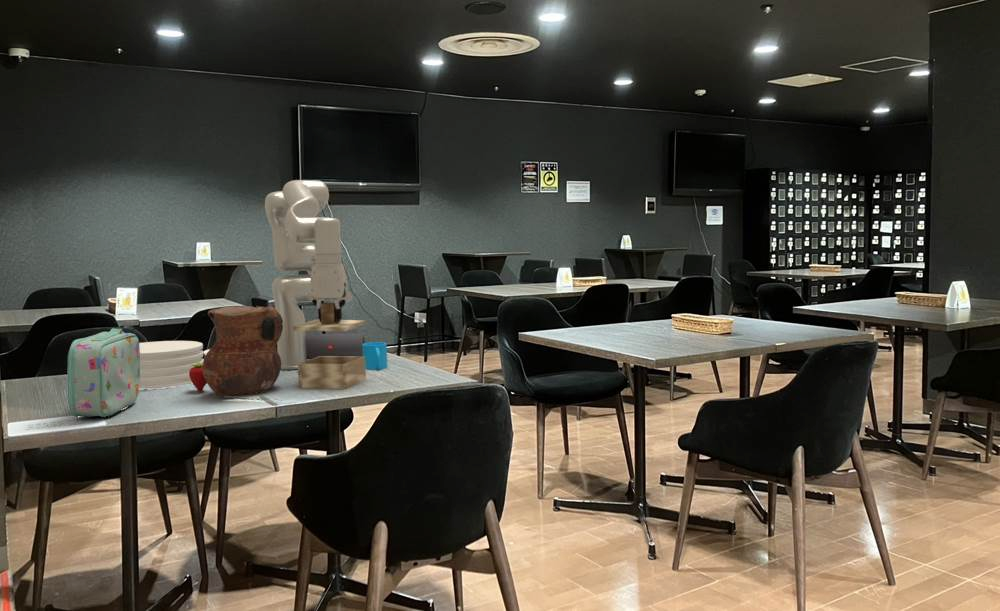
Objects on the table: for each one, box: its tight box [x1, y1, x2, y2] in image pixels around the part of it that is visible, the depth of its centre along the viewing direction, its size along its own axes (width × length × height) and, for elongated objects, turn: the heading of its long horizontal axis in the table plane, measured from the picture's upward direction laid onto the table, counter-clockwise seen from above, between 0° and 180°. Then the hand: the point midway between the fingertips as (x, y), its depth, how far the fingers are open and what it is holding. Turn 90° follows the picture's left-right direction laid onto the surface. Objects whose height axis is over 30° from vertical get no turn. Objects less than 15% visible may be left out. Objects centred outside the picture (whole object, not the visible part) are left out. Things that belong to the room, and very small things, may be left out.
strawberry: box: [189, 357, 208, 392], centre depth 245 cm, size 6×8×10 cm
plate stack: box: [139, 340, 205, 388], centre depth 262 cm, size 28×28×12 cm
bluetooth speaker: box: [305, 332, 366, 360], centre depth 298 cm, size 23×9×10 cm, turn 95°
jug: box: [202, 305, 283, 399], centre depth 239 cm, size 22×21×25 cm
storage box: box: [297, 356, 367, 390], centre depth 248 cm, size 15×15×8 cm
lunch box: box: [66, 327, 140, 418], centre depth 219 cm, size 27×10×21 cm, turn 4°
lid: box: [293, 301, 367, 332], centre depth 247 cm, size 16×16×7 cm
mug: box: [362, 341, 388, 371], centre depth 280 cm, size 12×8×8 cm
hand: (330, 321), depth 247 cm, fingers closed on lid, 4 cm apart
